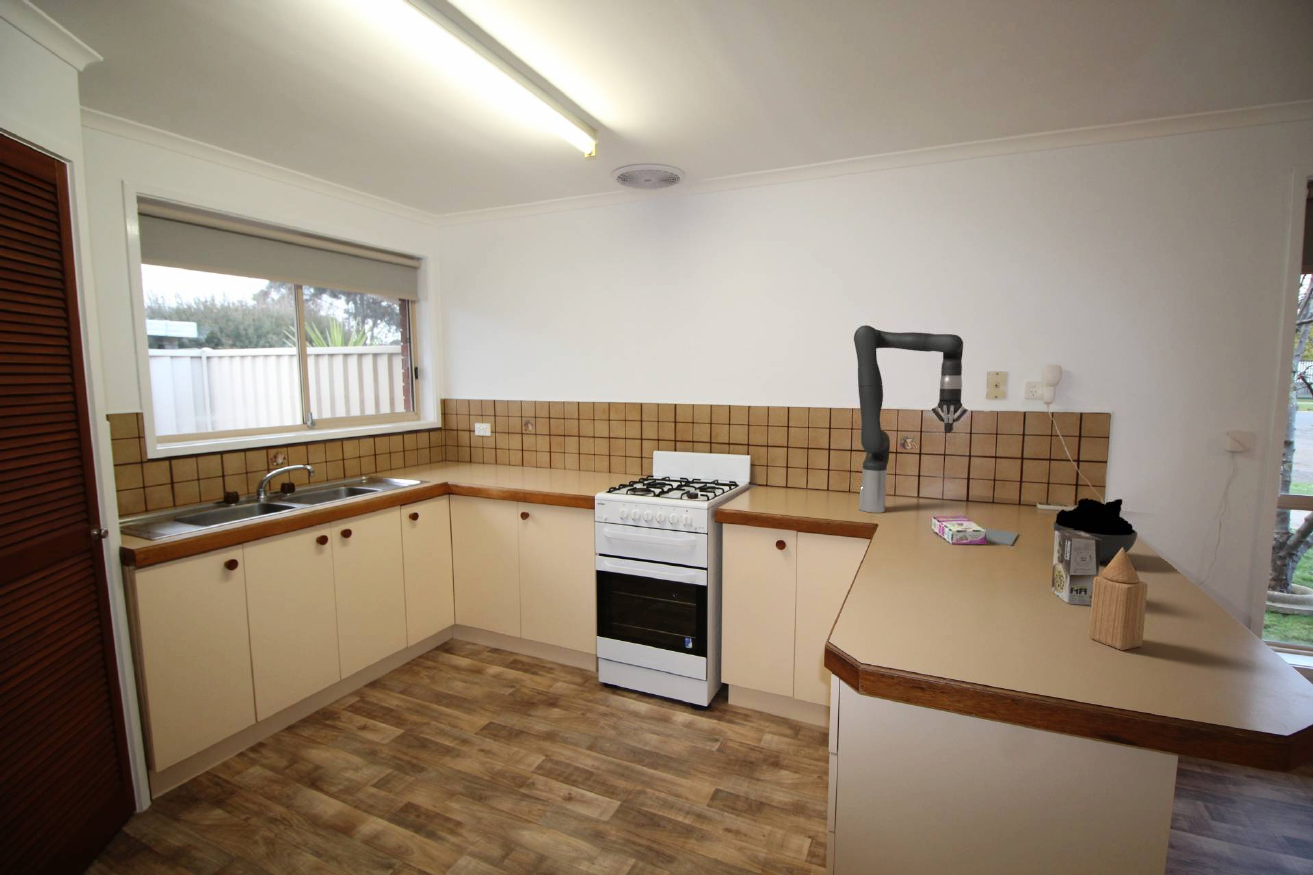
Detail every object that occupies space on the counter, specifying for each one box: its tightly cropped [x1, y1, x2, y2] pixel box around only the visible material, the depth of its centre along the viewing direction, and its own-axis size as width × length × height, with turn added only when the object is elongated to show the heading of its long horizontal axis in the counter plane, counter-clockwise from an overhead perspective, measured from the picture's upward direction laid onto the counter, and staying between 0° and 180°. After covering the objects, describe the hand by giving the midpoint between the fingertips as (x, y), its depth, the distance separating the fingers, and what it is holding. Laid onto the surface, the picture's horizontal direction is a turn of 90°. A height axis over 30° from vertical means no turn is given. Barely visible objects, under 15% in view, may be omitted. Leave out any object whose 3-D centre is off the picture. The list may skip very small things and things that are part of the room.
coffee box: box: [1051, 530, 1101, 606], centre depth 144 cm, size 9×6×16 cm
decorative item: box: [1088, 547, 1149, 651], centre depth 120 cm, size 7×7×20 cm
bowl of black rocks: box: [1053, 497, 1138, 563], centre depth 176 cm, size 20×20×19 cm
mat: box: [982, 527, 1019, 547], centre depth 204 cm, size 16×18×1 cm
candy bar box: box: [931, 515, 987, 545], centre depth 200 cm, size 11×5×16 cm
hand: (948, 432), depth 228 cm, fingers closed
